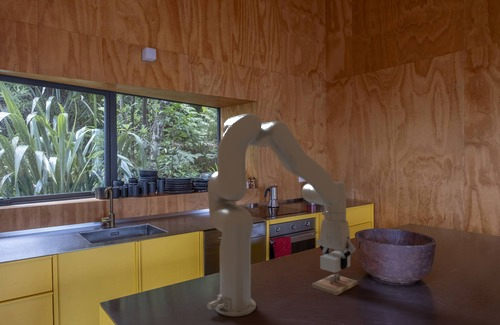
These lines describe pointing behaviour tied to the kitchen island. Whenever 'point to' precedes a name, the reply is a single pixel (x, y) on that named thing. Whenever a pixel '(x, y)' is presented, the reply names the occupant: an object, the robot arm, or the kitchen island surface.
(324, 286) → the pin block
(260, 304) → the kitchen island surface
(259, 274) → the kitchen island surface
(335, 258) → the block
